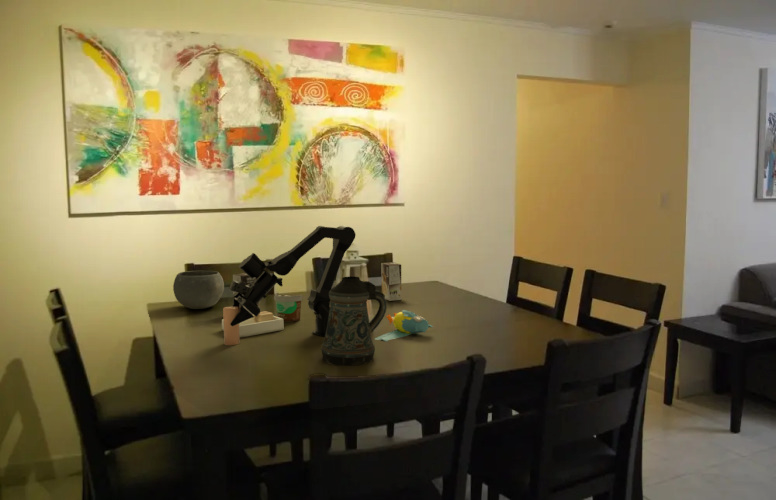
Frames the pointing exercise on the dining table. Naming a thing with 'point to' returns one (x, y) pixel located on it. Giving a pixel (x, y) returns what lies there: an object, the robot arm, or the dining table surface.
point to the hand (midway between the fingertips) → (228, 322)
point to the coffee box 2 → (391, 280)
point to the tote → (258, 326)
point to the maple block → (263, 317)
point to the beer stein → (351, 322)
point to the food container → (288, 307)
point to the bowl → (198, 288)
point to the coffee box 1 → (244, 280)
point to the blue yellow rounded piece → (405, 325)
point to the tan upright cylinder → (230, 331)
